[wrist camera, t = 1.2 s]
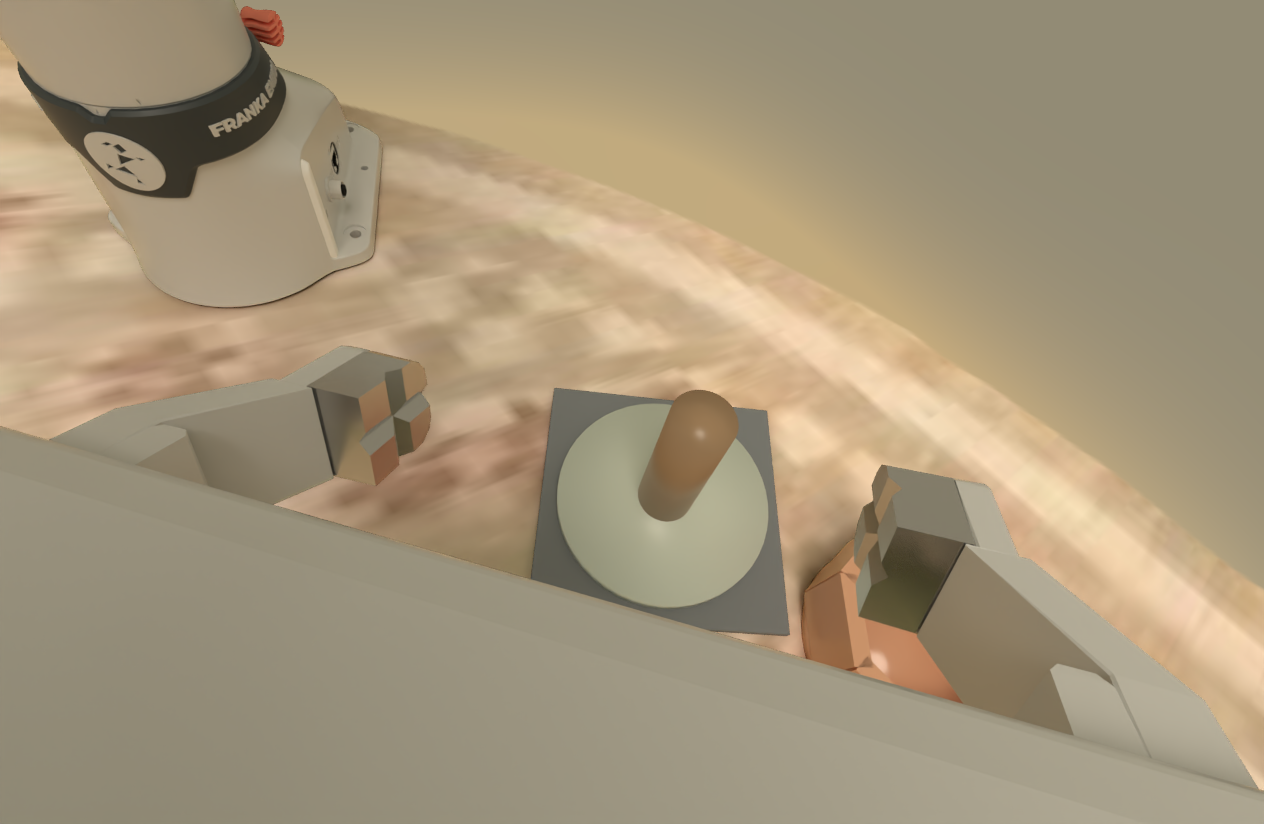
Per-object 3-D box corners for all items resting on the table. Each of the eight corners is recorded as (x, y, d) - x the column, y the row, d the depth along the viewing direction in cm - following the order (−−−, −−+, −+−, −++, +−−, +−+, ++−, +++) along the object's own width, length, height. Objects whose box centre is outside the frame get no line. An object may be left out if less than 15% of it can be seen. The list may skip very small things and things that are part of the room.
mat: (554, 391, 42) (554, 387, 42) (764, 414, 44) (766, 410, 43) (526, 619, 34) (526, 617, 33) (786, 636, 36) (789, 634, 35)
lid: (566, 400, 41) (577, 297, 32) (755, 420, 43) (817, 328, 33) (545, 601, 34) (550, 544, 25) (772, 616, 36) (858, 568, 26)
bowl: (791, 542, 39) (830, 511, 34) (956, 556, 40) (1018, 528, 35) (814, 748, 33) (866, 748, 27) (1008, 757, 34) (1092, 758, 29)
